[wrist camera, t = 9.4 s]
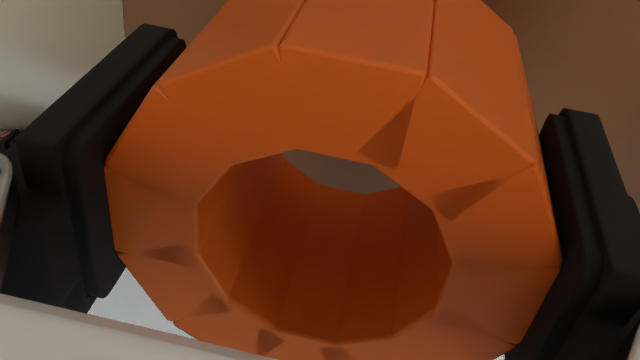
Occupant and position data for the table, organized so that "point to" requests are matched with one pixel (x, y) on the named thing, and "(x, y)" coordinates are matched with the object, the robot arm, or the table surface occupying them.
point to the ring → (333, 203)
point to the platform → (538, 60)
